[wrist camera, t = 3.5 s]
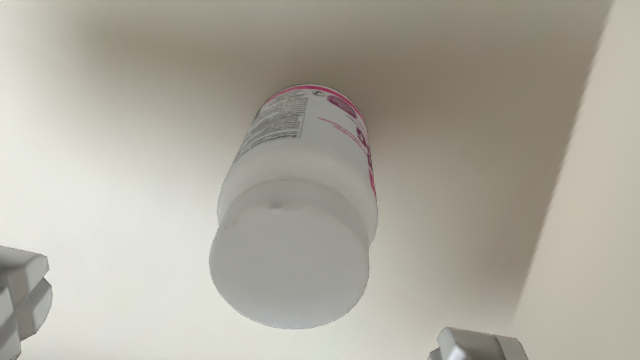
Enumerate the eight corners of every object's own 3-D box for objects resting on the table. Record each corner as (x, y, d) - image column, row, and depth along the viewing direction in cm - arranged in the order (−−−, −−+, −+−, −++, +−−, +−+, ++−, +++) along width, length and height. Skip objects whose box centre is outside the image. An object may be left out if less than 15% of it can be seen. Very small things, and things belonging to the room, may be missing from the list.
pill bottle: (388, 155, 18) (419, 304, 11) (293, 202, 20) (264, 363, 12) (330, 57, 16) (320, 157, 9) (230, 117, 18) (150, 246, 10)
